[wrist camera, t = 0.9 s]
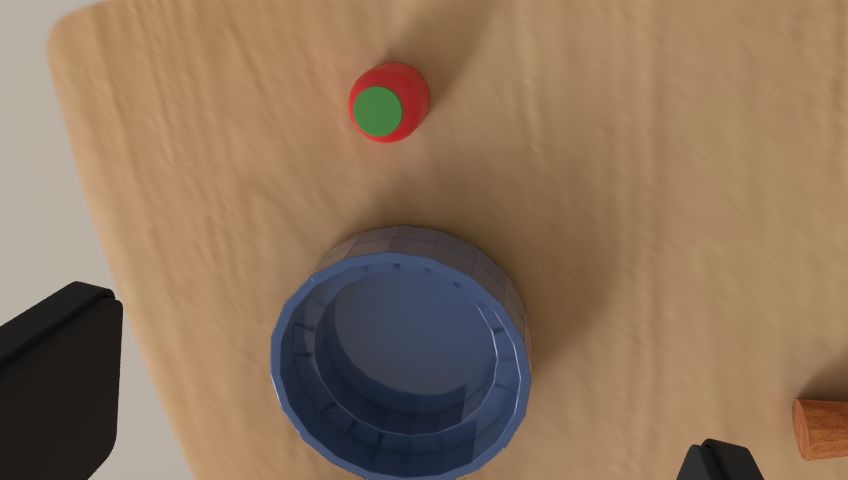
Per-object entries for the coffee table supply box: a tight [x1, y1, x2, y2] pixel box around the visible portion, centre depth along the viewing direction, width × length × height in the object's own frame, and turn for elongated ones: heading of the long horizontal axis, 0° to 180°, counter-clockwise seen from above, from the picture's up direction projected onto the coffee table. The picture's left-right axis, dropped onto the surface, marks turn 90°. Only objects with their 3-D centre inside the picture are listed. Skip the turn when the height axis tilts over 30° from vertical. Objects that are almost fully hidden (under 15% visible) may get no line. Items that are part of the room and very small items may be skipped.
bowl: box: [270, 225, 532, 480], centre depth 39 cm, size 14×14×5 cm
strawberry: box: [349, 63, 430, 143], centre depth 35 cm, size 4×4×5 cm
